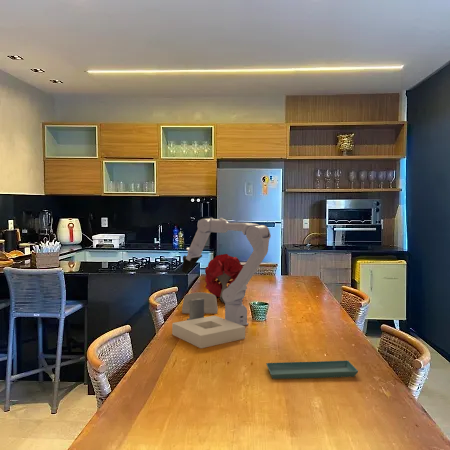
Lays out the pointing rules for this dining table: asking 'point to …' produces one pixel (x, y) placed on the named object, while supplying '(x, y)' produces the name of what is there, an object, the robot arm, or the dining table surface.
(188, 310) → the grey rounded block
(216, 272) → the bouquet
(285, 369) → the rectangular tray
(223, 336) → the well block
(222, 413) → the dining table surface
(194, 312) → the tall grey block
